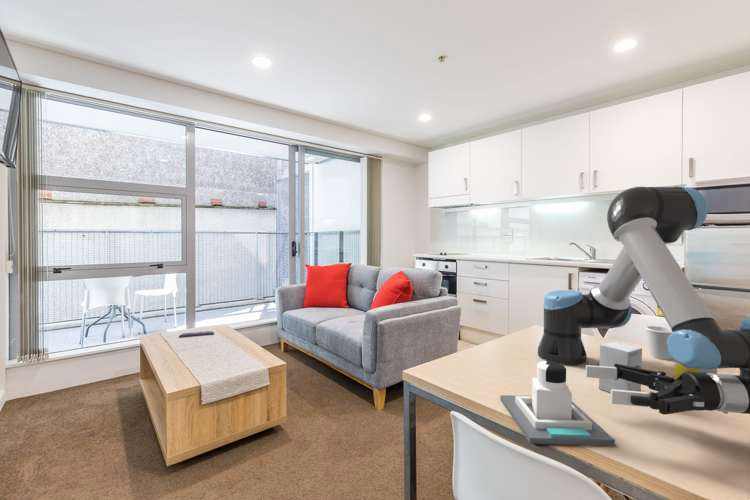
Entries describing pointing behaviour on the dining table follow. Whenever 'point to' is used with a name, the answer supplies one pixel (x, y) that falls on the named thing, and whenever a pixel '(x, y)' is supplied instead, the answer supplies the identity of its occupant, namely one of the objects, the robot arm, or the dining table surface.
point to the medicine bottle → (551, 392)
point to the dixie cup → (658, 342)
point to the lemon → (683, 370)
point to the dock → (555, 425)
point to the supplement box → (622, 356)
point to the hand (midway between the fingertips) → (597, 382)
